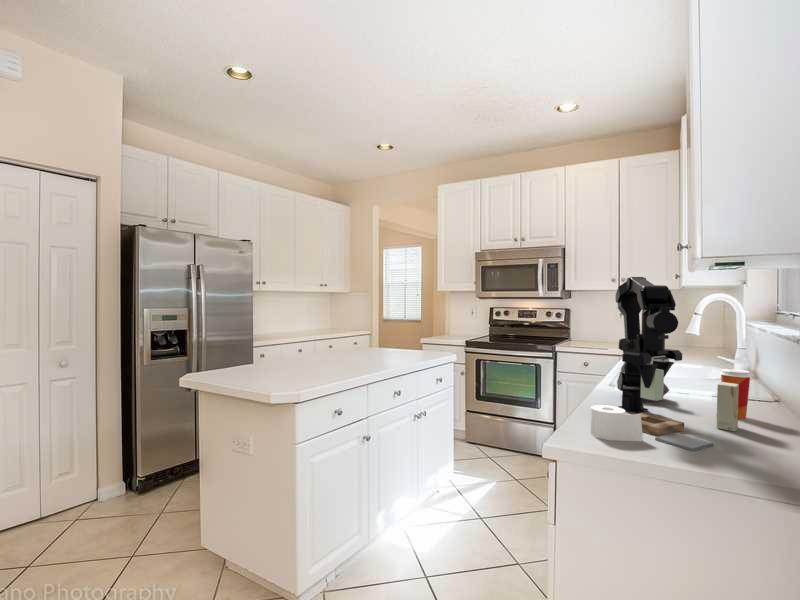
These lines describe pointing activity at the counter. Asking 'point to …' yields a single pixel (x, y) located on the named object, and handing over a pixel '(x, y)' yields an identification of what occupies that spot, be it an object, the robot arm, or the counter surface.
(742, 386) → the paper cup
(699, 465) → the counter surface
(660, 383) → the green block
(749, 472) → the counter surface
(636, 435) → the toilet paper
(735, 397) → the skincare box
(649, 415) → the pocket block
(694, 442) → the coaster
